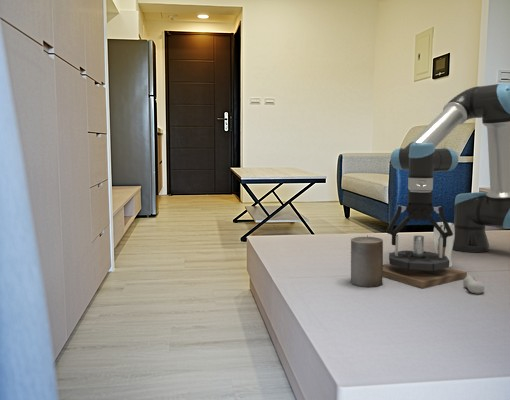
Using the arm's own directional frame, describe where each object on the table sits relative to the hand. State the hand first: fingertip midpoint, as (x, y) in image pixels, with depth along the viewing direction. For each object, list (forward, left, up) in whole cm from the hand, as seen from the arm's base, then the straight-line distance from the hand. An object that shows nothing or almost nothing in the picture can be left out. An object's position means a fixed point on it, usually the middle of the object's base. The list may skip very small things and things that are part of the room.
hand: (418, 256), depth 154 cm
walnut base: (0, 0, -6) cm, 6 cm away
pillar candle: (+20, -3, -7) cm, 21 cm away
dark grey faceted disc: (0, 0, -2) cm, 2 cm away
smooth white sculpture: (-1, +20, -7) cm, 21 cm away
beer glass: (-18, -4, -7) cm, 20 cm away
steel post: (0, 0, -4) cm, 4 cm away
